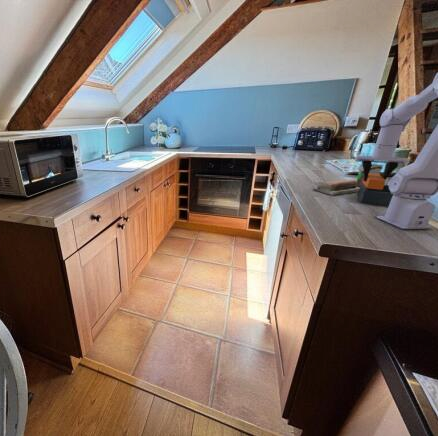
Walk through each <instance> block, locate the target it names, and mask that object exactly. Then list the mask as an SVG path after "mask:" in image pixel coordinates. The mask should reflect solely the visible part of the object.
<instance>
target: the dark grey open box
mask: <svg viewBox="0 0 438 436" xmlns="http://www.w3.org/2000/svg"><path fill="white" fill-rule="evenodd" d="M359 188H360V189H359V192H357V195H358V199H359V201H360V203H361V204H368V205H375V206H383V207H389V204H390V202H391V199H392V196H393V194H392V193H391V192H390V190H389V184H384V187H383V189H382V190H380V189H370V188H366V186H365V185H364V184H363V183H361V185H360V187H359Z"/></svg>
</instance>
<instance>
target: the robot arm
mask: <svg viewBox="0 0 438 436" xmlns="http://www.w3.org/2000/svg"><path fill="white" fill-rule="evenodd" d="M436 99H438V72H437V73H436V74H435V75H434V77H433V80H432V83H430V84H429V85H428V86H427V87H425V88H424V89H423V90H422V91H421V92H420V93H419V94H415V95H414V94H413V95H410V96H408V98H406V99H405V100H404V101H402V102H401V103H400V104H398V105H397V106H396V107H394V108H386V109H385V110H384V111H383V112H382V114H381V116H380V119H379V126H380V127H381V128H380V130H379V133H378V135H377V139H376V143H375V145H374V148H373V151H372V155H356V156H355V162H357V163H359V162H360V163H361V165H363V170H364V179H363V181H366V180H367V178H368V174H369V171H370V169H371V167H372V164H373V163H379V164H385V166H384V170H383V173H382V175H381V176H382V177H383V178H384V179H385V180H387V178H388V177H389V176H390V175H391V174H392V173H393V172H394V171H395V170H396V169H398V167H399V165H405V166H403V167H401V168H399V170H398V171H397V173H396V174H395V175H393V176H392V177H391V178H390V180H389V182H388V185H389V190H390V192H391V193H392V194H393V196H392V199H391V202H390V204H389V206H387V210H386V213H385V215H377V216H376V218H377V219H379V220H381V221H384V222H385V223H388V224H390V225H393V226H395V227H398V228H400V229H402V230H423V229H424V230H426V229H429V228H430V227H429V226H428V225H429V222H430V220H431V219H432V216H433V214H434V212H435V205H434V203H433V202H431V201H429V199H431V197H432V196H435V195H437V194H438V124H437V125H436V126H435V128H434V129H433V131H432V132H431V134H430V136H429V138H428V139H427V141H426V142H425V144H424V146H423V147H422V149H421V150H420V152H419V153H418V155H417V157H416V158H415V160H414V162H412V163H411V164H409V161H410V158H408V157H395V156H394V154H395V151H396V149H397V146H398V143H399V140H400V138H401V135H402V133H404V132H405V130H406V128H407V126H408V125H409V124H410V122H411V120H412V119H413V118H414V117H415V116H417V115H418V114H420V113H421V112H423V111H424V110H426V109H427V107H428V106H429V103H430V102H432V101H434V100H436Z"/></svg>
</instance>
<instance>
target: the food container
mask: <svg viewBox="0 0 438 436" xmlns="http://www.w3.org/2000/svg"><path fill="white" fill-rule="evenodd" d="M383 166H384V165H383V164H375V163H372V167H371V169H370V171H369V174H379V175H381V174H380V173H381V171H382V170H383ZM357 170H358V173H357V177H356V181H357V182H358V184H357V187H358V188H360V185H361V183H363V182H362V181H363V178H364V170H363V165H362V164H360V165H359V166H358V168H357Z"/></svg>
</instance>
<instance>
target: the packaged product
mask: <svg viewBox="0 0 438 436" xmlns="http://www.w3.org/2000/svg"><path fill="white" fill-rule="evenodd" d="M357 184H358V182H357V180H355V179H348V178H347V179H335V180H334V179H333V180H326V181H325V180H324V181H319V182H318V185H317V187H316V186H315V187H312V190H313V191H316V192H320V193H322V194H326V195H329V196H336V195H346V194H347V195H349V194H352V193H358V192H359V189H360V187H357Z"/></svg>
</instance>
